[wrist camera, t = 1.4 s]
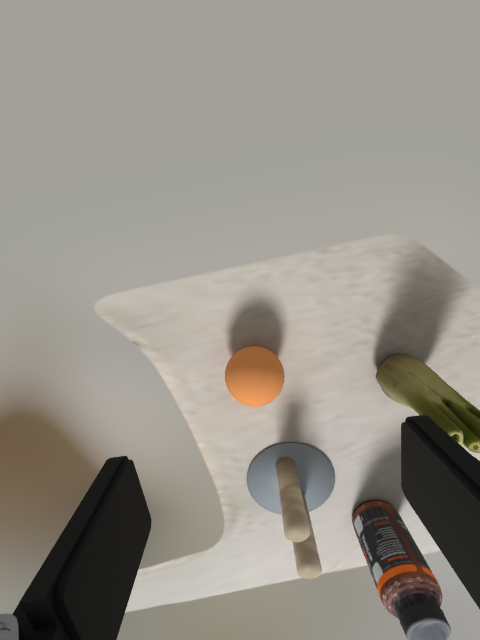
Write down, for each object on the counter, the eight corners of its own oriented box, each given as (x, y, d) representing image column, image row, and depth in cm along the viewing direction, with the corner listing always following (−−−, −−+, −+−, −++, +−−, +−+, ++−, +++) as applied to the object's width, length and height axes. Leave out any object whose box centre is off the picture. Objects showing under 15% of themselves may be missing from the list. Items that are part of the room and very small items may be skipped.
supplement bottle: (340, 517, 36) (381, 635, 25) (374, 489, 35) (433, 601, 24) (372, 540, 37) (425, 664, 26) (406, 514, 35) (477, 633, 24)
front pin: (292, 453, 34) (306, 520, 25) (297, 469, 34) (312, 539, 26) (273, 458, 34) (281, 525, 26) (278, 473, 34) (287, 544, 26)
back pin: (302, 485, 35) (318, 559, 26) (306, 500, 35) (324, 576, 27) (283, 489, 35) (294, 563, 27) (288, 504, 36) (300, 581, 27)
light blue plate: (323, 433, 33) (324, 434, 32) (342, 504, 35) (342, 505, 35) (236, 454, 34) (235, 455, 34) (260, 521, 36) (260, 522, 36)
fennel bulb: (430, 369, 30) (544, 445, 19) (399, 401, 31) (487, 491, 20) (391, 340, 30) (484, 400, 18) (361, 374, 31) (429, 450, 19)
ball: (272, 331, 30) (278, 352, 24) (286, 380, 31) (295, 410, 25) (220, 346, 30) (213, 369, 24) (236, 393, 32) (233, 425, 26)
